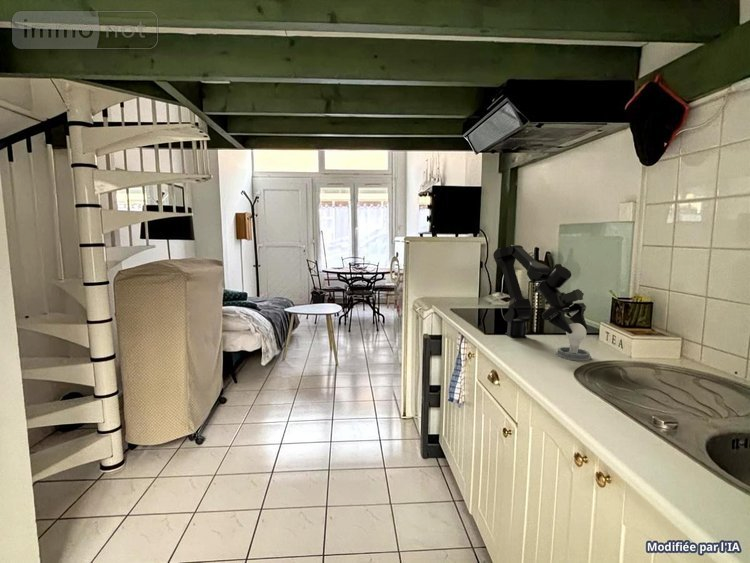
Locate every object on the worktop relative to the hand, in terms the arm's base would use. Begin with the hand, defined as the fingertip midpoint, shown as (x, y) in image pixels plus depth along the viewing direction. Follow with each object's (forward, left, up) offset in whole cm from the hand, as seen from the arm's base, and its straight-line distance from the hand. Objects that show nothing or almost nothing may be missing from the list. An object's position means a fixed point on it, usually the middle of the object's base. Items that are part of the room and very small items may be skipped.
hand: (579, 331), depth 136 cm
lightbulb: (0, +2, -8) cm, 9 cm away
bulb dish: (-1, +1, -9) cm, 9 cm away
